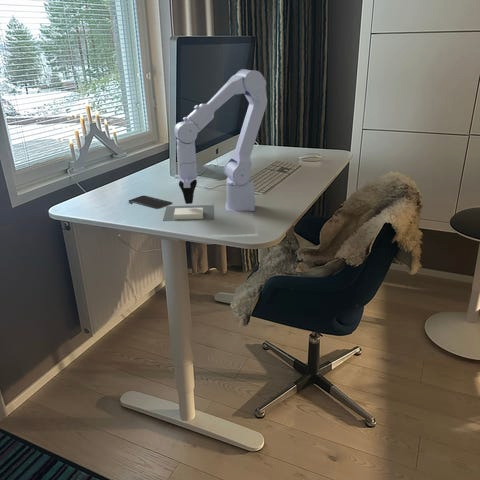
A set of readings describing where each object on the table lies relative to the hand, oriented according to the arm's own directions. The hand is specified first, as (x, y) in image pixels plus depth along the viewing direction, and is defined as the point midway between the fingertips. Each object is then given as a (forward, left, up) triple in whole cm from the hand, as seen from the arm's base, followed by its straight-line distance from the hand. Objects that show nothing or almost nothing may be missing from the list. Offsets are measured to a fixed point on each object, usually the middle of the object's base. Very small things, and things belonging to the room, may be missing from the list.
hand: (189, 203), depth 147 cm
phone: (+14, -12, -4) cm, 19 cm away
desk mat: (0, 0, -4) cm, 4 cm away
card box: (0, 0, -2) cm, 3 cm away
